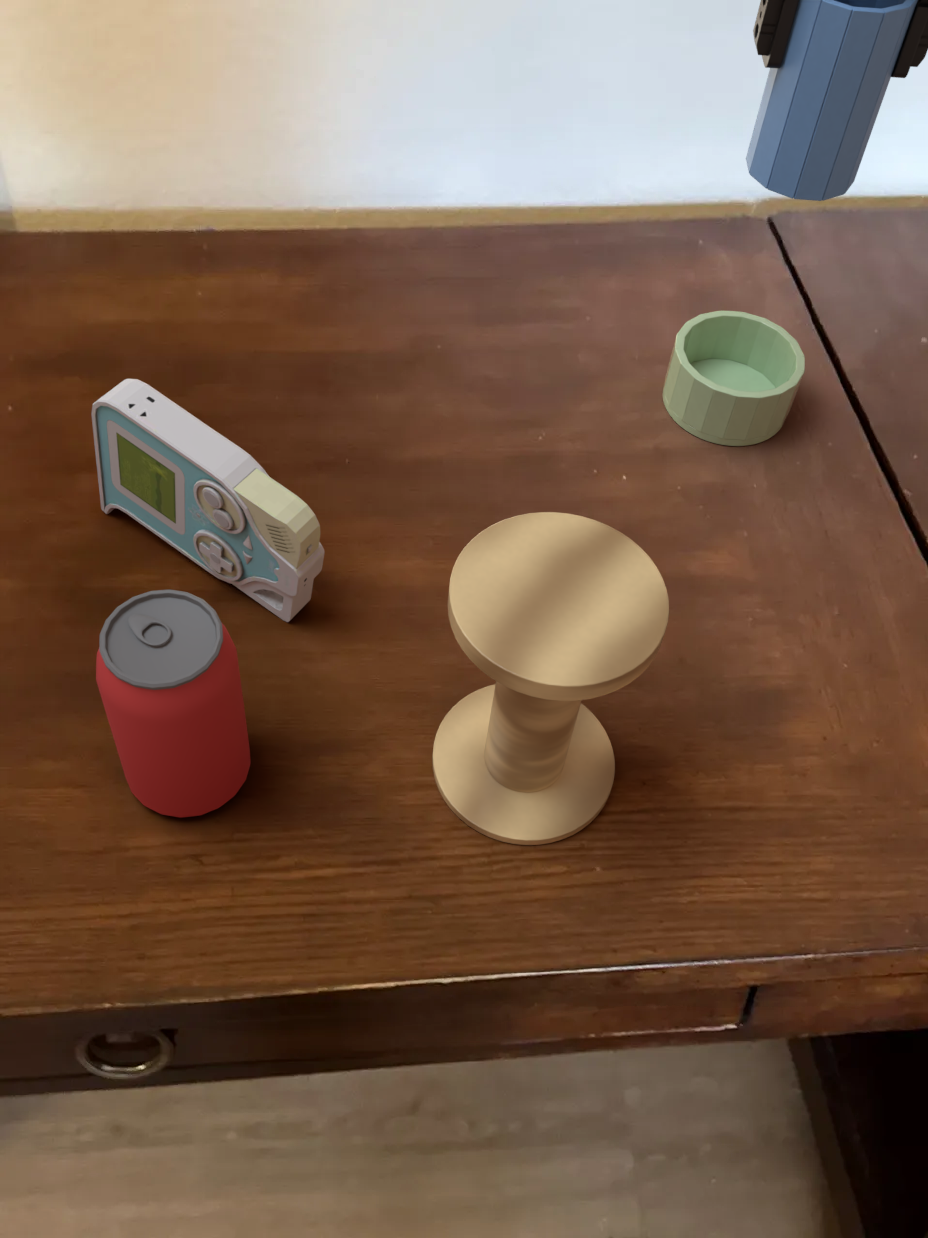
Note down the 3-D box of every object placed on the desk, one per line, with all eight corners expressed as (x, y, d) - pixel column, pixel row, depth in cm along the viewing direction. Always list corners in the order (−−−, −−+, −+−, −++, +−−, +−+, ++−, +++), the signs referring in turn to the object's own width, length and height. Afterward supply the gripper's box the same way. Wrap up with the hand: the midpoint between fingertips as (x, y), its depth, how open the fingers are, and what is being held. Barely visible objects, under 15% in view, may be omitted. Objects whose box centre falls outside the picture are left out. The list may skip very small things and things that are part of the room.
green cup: (804, 390, 87) (823, 341, 83) (758, 465, 82) (776, 416, 78) (692, 343, 89) (706, 293, 86) (641, 413, 84) (654, 363, 81)
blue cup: (867, 163, 67) (933, -23, 59) (830, 213, 64) (895, 23, 56) (770, 129, 69) (822, -57, 61) (730, 175, 66) (779, -14, 58)
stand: (643, 739, 68) (704, 569, 56) (561, 879, 63) (610, 724, 51) (488, 659, 71) (516, 481, 59) (397, 787, 65) (407, 619, 53)
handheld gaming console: (287, 649, 72) (97, 513, 75) (316, 618, 74) (129, 486, 77) (301, 540, 63) (84, 389, 66) (334, 508, 65) (120, 362, 67)
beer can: (186, 695, 68) (159, 557, 58) (277, 758, 66) (263, 626, 56) (99, 777, 64) (55, 645, 55) (192, 846, 62) (163, 721, 53)
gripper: (796, -331, 46) (699, 94, 59) (1167, -300, 46) (989, 114, 60) (769, -387, 50) (685, 19, 64) (1107, -357, 51) (954, 39, 64)
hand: (832, 63), depth 62 cm, fingers closed on blue cup, 6 cm apart
